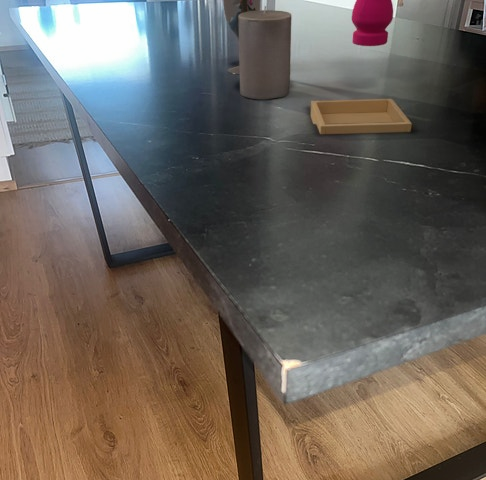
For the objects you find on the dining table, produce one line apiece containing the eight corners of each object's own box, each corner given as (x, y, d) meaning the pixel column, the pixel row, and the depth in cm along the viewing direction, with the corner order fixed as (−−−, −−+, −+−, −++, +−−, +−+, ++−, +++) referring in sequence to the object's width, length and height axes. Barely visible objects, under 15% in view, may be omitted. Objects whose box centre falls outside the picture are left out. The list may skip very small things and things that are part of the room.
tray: (389, 113, 90) (391, 98, 89) (409, 140, 80) (412, 123, 78) (310, 116, 90) (311, 100, 89) (319, 143, 80) (320, 126, 78)
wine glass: (266, 67, 118) (267, -9, 109) (252, 76, 112) (251, -4, 104) (235, 64, 121) (232, -10, 112) (219, 72, 115) (215, -5, 106)
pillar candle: (250, 84, 107) (248, 1, 99) (296, 88, 104) (299, 2, 96) (232, 97, 100) (228, 9, 91) (281, 102, 97) (282, 11, 88)
